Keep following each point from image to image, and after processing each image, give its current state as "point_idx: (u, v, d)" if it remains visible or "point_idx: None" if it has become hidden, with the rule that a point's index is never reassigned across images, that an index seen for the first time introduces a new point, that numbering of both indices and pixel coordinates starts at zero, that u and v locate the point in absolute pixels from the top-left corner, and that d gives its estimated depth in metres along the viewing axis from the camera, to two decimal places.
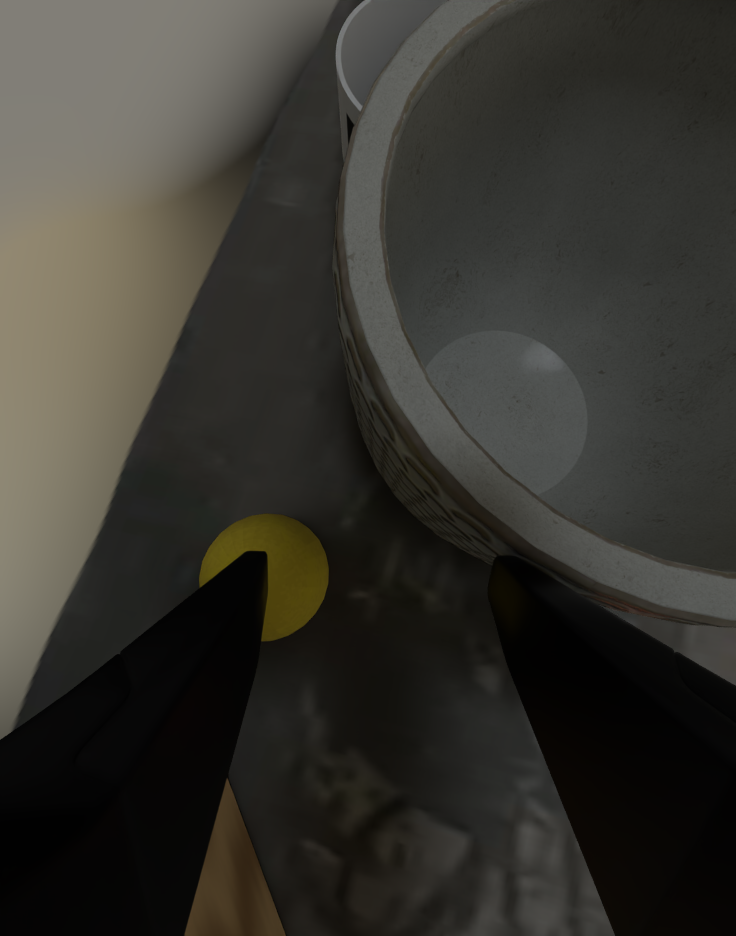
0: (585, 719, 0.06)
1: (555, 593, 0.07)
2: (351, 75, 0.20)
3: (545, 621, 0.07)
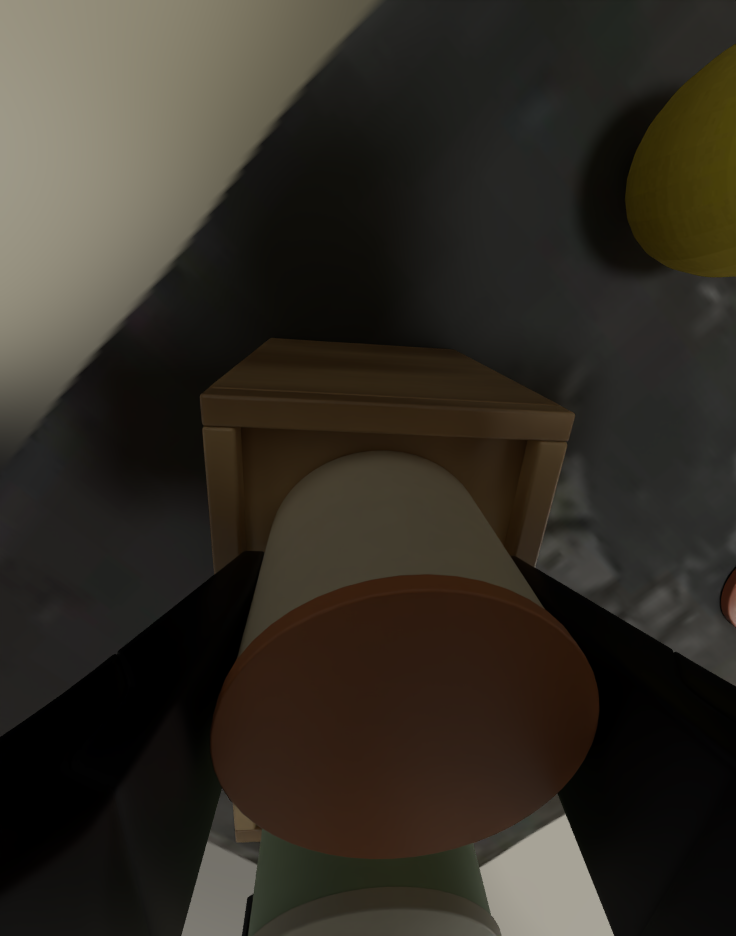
0: None
1: (554, 593, 0.07)
2: None
3: None
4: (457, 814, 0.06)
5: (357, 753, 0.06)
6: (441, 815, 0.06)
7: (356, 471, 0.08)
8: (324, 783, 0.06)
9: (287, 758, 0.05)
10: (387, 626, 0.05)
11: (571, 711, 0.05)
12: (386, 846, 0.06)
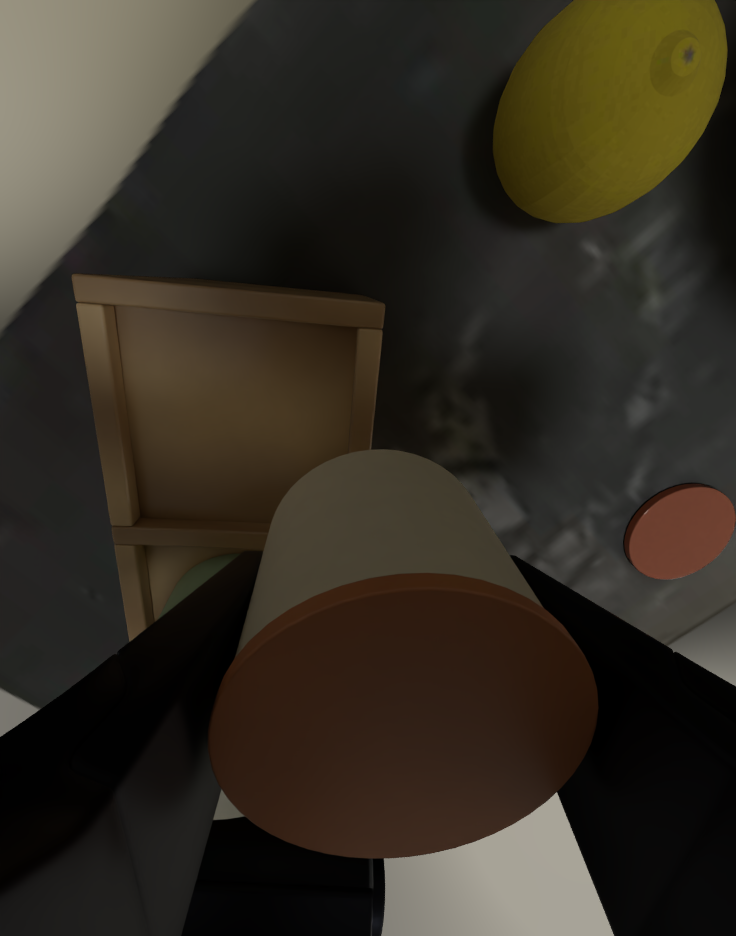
0: None
1: (554, 593, 0.07)
2: None
3: None
4: (456, 813, 0.06)
5: (355, 752, 0.05)
6: (439, 815, 0.06)
7: (355, 470, 0.08)
8: (322, 781, 0.06)
9: (286, 756, 0.05)
10: (385, 625, 0.05)
11: (570, 710, 0.05)
12: (385, 845, 0.06)
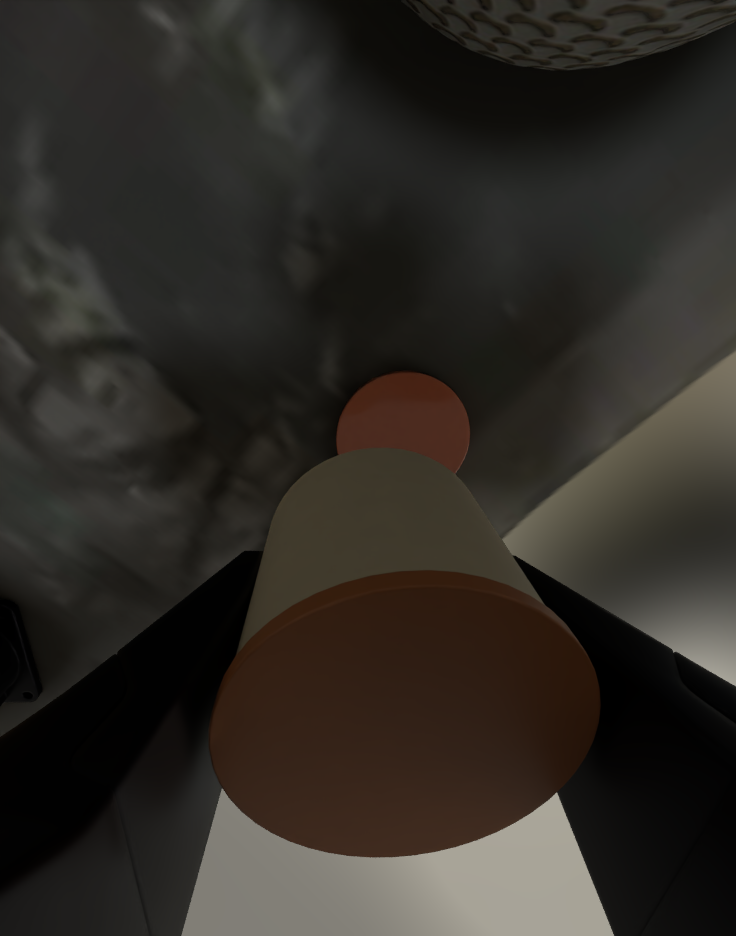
0: None
1: (554, 593, 0.07)
2: None
3: None
4: (457, 812, 0.06)
5: (357, 750, 0.05)
6: (440, 813, 0.06)
7: (355, 468, 0.08)
8: (324, 780, 0.06)
9: (286, 754, 0.05)
10: (387, 622, 0.05)
11: (572, 708, 0.05)
12: (386, 844, 0.06)
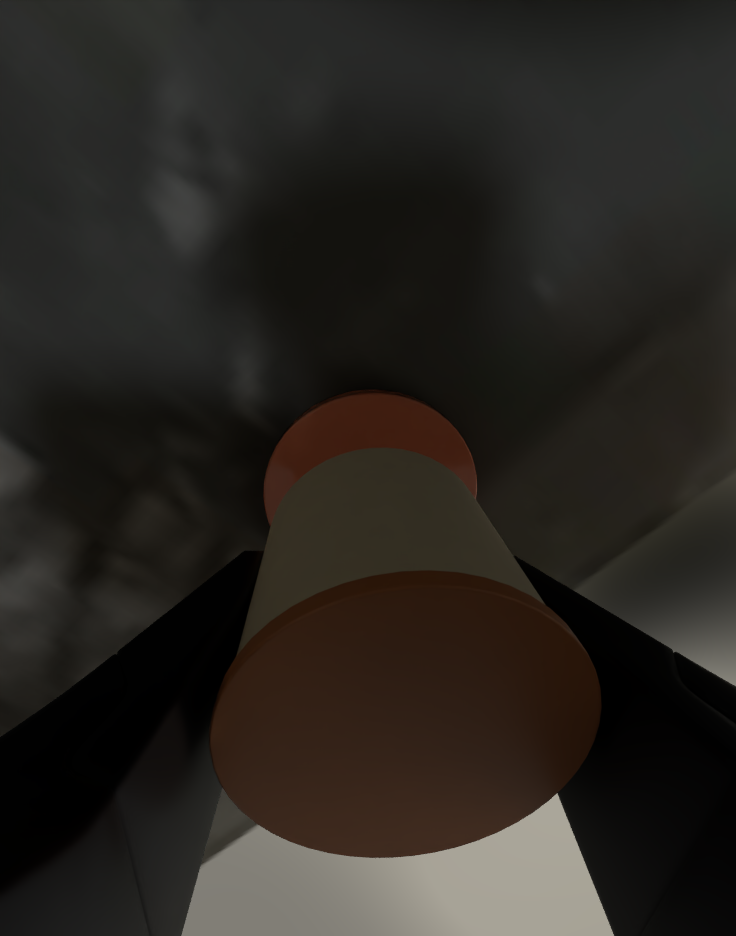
0: None
1: (554, 593, 0.07)
2: None
3: None
4: (458, 812, 0.06)
5: (358, 751, 0.05)
6: (441, 813, 0.06)
7: (357, 468, 0.08)
8: (324, 781, 0.06)
9: (288, 756, 0.05)
10: (388, 622, 0.05)
11: (573, 708, 0.05)
12: (387, 845, 0.06)
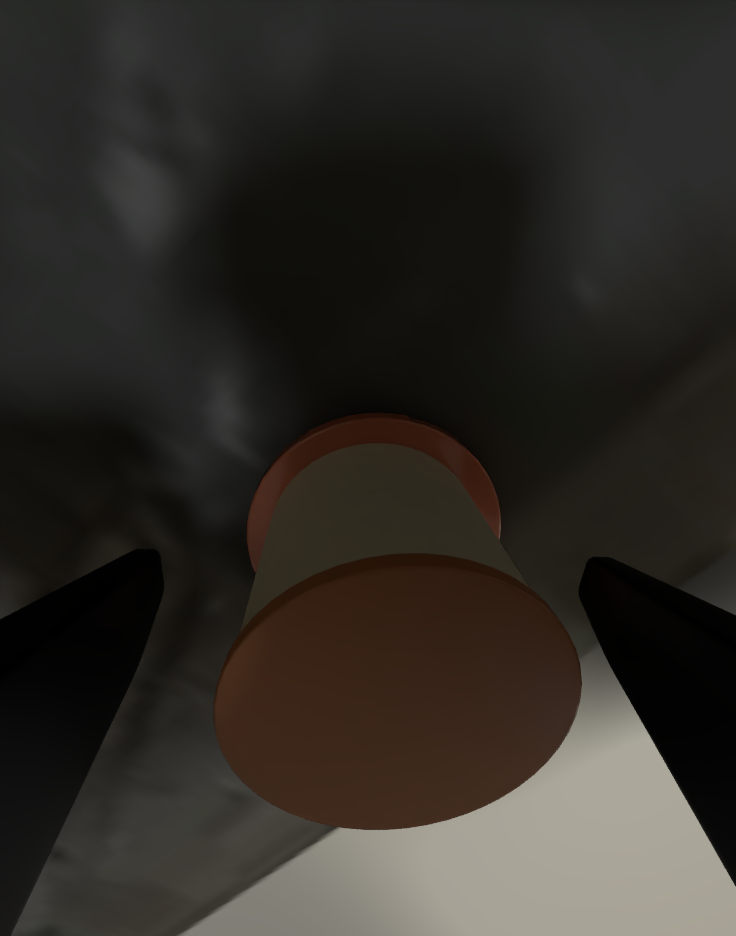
0: (718, 716, 0.06)
1: (668, 594, 0.08)
2: None
3: (664, 621, 0.07)
4: (448, 785, 0.06)
5: (352, 724, 0.06)
6: (432, 786, 0.06)
7: (353, 462, 0.08)
8: (321, 753, 0.06)
9: (287, 728, 0.06)
10: (380, 601, 0.05)
11: (555, 685, 0.06)
12: (381, 817, 0.07)
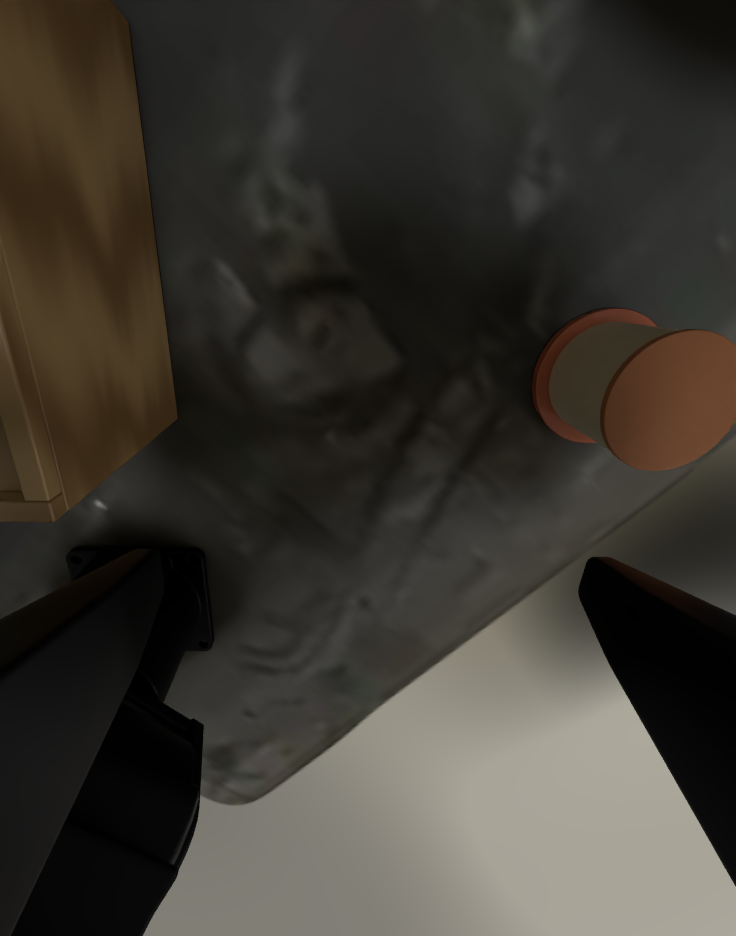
0: (718, 717, 0.06)
1: (668, 594, 0.08)
2: None
3: (664, 621, 0.07)
4: (684, 444, 0.16)
5: (656, 406, 0.15)
6: (678, 444, 0.16)
7: (615, 324, 0.17)
8: (640, 421, 0.15)
9: (632, 407, 0.15)
10: (682, 345, 0.14)
11: None
12: (653, 462, 0.16)
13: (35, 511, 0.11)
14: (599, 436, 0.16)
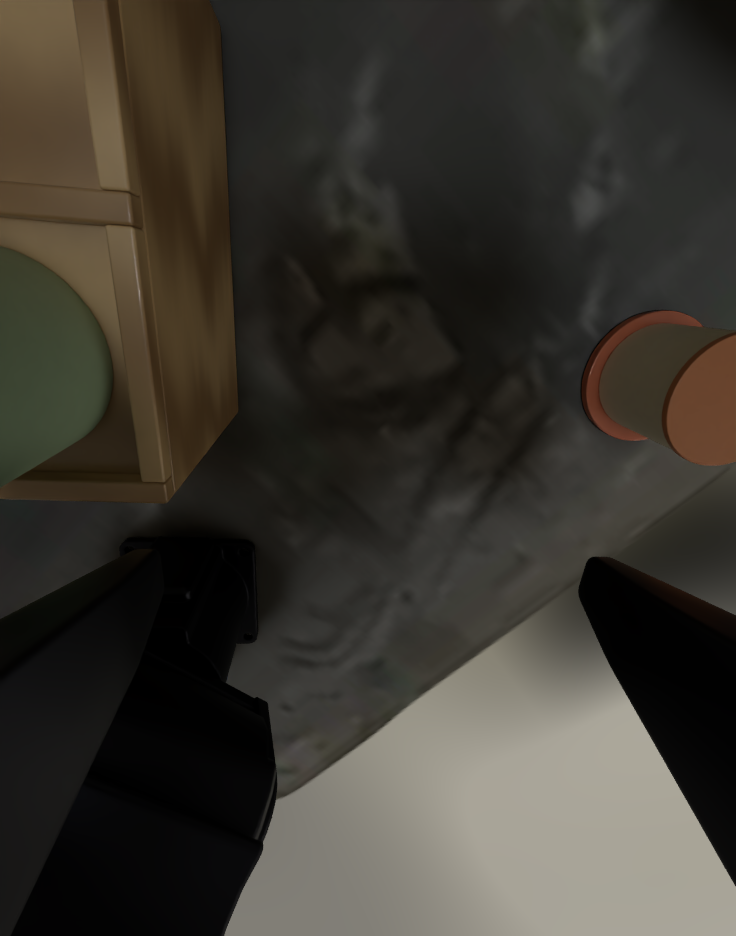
0: (718, 716, 0.06)
1: (668, 594, 0.08)
2: None
3: (664, 621, 0.07)
4: None
5: (717, 403, 0.16)
6: (734, 440, 0.16)
7: (669, 326, 0.18)
8: (701, 418, 0.16)
9: (694, 403, 0.16)
10: None
11: None
12: (709, 457, 0.16)
13: (150, 492, 0.11)
14: (657, 432, 0.17)
